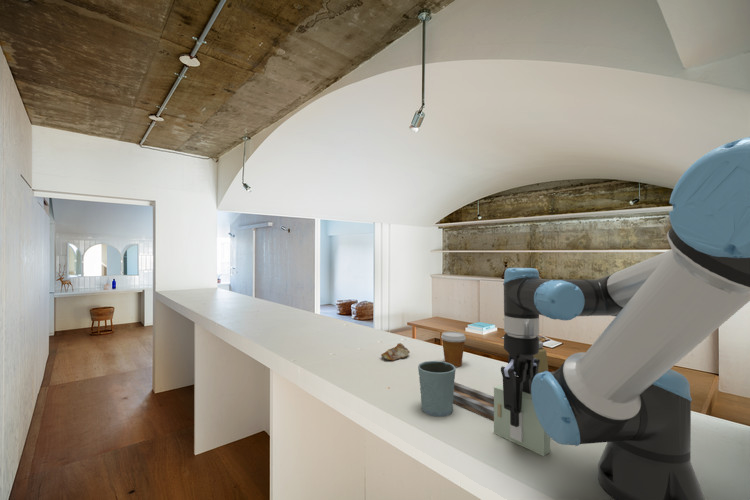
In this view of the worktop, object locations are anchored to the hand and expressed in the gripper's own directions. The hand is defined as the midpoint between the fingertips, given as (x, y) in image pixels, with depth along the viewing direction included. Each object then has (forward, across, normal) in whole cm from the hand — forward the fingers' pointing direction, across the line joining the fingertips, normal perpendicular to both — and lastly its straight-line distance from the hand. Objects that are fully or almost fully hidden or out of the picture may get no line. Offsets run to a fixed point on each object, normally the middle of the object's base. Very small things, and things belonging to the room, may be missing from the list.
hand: (520, 436), depth 79 cm
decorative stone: (+2, -20, -66) cm, 69 cm away
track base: (+1, -8, -19) cm, 21 cm away
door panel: (+1, 0, 0) cm, 1 cm away
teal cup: (+1, +3, -23) cm, 23 cm away
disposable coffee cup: (+1, -32, -45) cm, 55 cm away
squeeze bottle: (+1, -37, -15) cm, 40 cm away
